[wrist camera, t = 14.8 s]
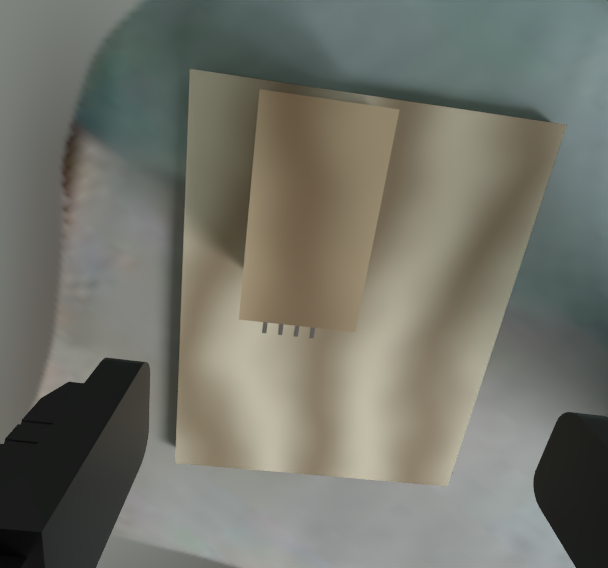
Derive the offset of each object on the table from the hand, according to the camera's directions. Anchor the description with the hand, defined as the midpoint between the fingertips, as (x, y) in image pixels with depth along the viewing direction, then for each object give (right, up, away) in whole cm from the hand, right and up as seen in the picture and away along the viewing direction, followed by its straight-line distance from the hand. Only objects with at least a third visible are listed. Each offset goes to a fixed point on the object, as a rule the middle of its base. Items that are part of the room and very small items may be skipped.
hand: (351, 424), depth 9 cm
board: (+1, +1, +18) cm, 18 cm away
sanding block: (-1, +7, +14) cm, 16 cm away
